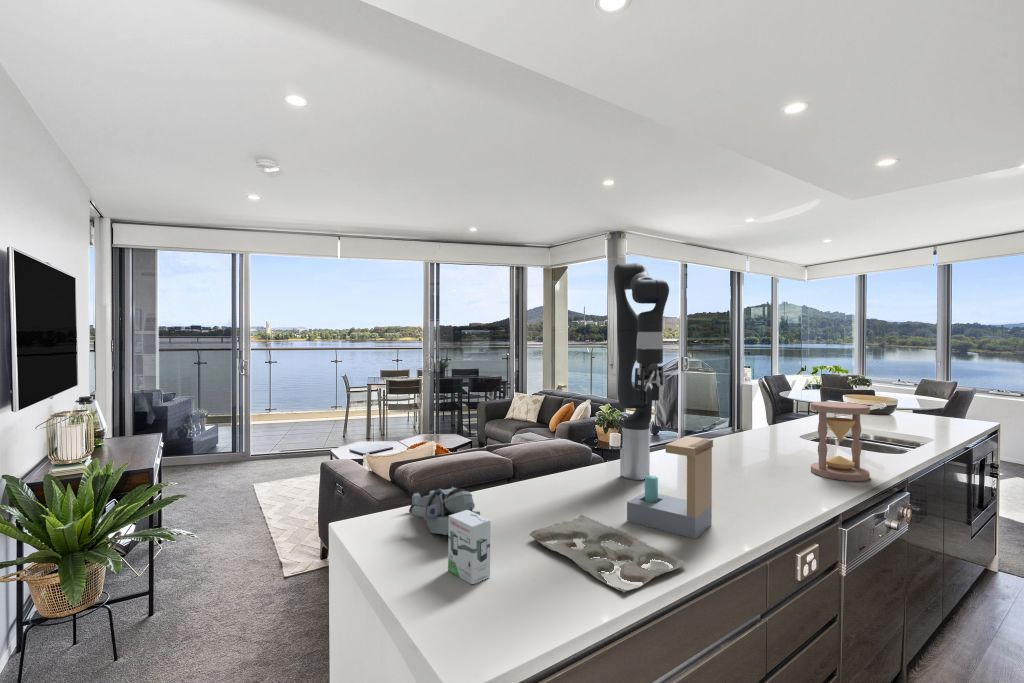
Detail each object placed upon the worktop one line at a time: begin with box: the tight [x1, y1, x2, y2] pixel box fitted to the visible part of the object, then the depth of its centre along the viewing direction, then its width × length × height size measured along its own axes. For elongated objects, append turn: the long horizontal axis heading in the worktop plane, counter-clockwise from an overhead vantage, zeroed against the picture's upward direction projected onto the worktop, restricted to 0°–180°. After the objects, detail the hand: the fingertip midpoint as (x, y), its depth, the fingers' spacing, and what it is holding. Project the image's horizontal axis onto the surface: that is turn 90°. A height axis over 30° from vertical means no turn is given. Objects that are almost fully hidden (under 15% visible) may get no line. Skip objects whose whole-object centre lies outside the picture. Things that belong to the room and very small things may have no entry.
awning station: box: [626, 435, 714, 539], centre depth 129 cm, size 18×14×22 cm
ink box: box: [447, 510, 491, 585], centre depth 100 cm, size 9×5×12 cm, turn 43°
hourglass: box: [810, 401, 871, 482], centre depth 174 cm, size 18×18×25 cm
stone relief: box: [529, 514, 686, 593], centre depth 110 cm, size 32×3×20 cm
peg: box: [644, 475, 659, 504], centre depth 132 cm, size 3×3×11 cm
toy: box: [408, 486, 481, 536], centre depth 126 cm, size 17×11×30 cm
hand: (649, 402), depth 145 cm, fingers open, 8 cm apart
